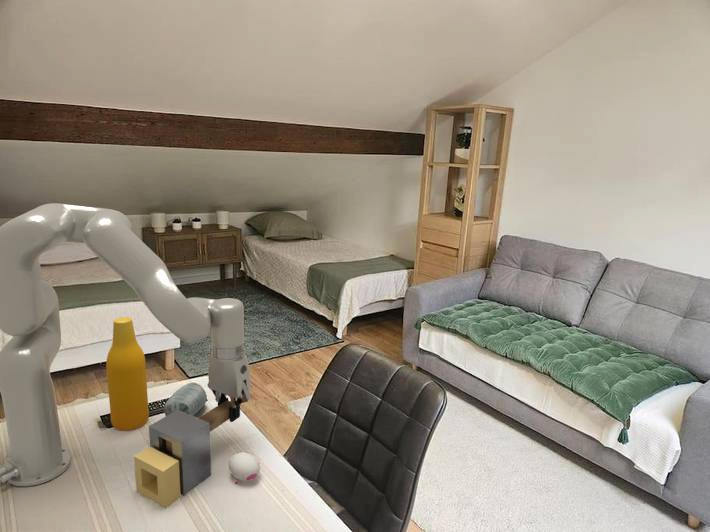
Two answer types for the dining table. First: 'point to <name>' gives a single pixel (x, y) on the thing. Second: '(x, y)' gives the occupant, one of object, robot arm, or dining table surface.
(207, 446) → the block
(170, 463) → the block
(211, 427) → the shaft
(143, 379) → the beer bottle
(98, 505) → the dining table surface
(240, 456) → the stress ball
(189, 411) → the spool
